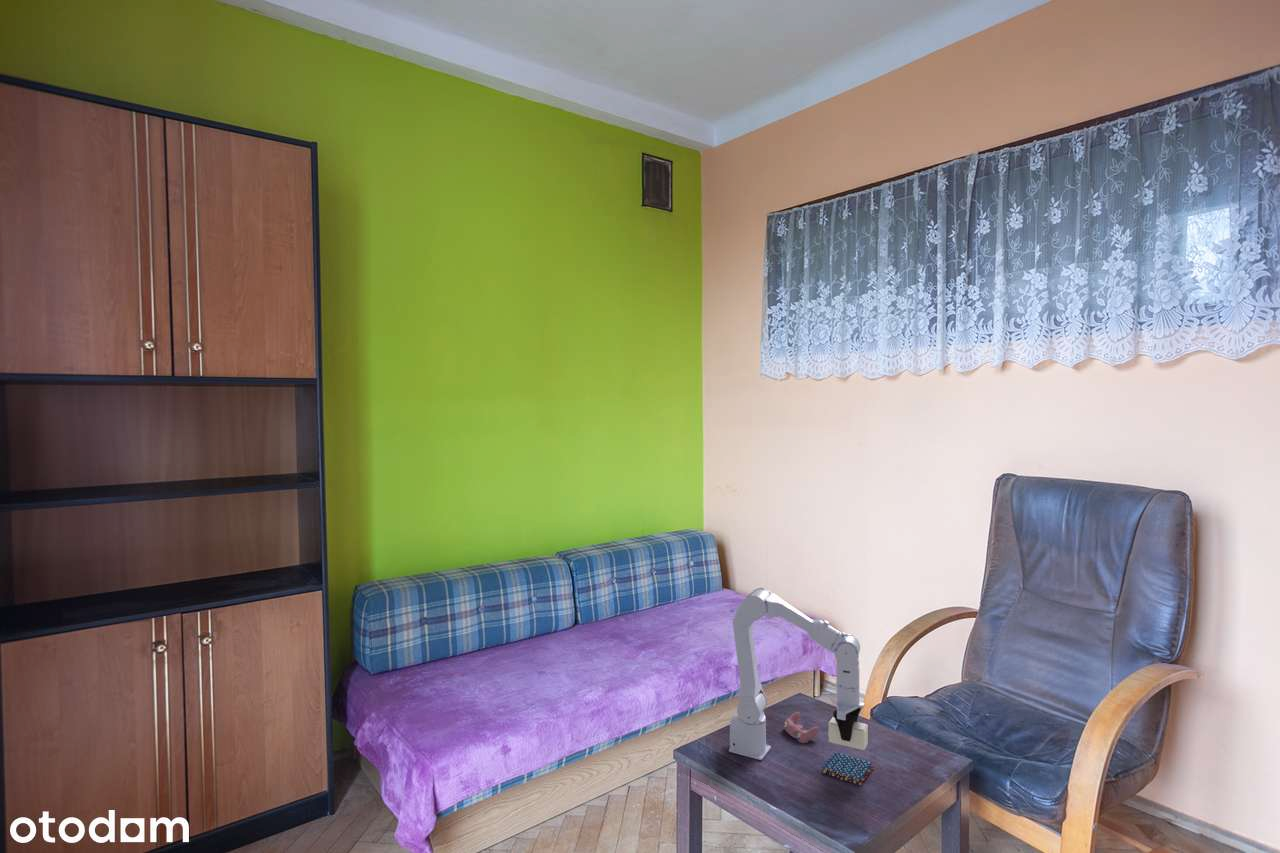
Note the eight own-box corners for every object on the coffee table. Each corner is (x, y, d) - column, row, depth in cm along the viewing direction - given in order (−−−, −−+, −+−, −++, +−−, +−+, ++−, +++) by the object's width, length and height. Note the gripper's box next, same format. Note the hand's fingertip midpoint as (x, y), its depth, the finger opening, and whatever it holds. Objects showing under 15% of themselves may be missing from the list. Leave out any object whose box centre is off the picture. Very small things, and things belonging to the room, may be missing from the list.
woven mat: (861, 788, 165) (861, 780, 165) (820, 774, 172) (820, 766, 171) (875, 770, 173) (875, 762, 173) (835, 757, 180) (835, 750, 180)
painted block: (864, 750, 168) (864, 730, 168) (828, 741, 173) (828, 722, 173) (867, 743, 172) (867, 724, 172) (832, 735, 176) (832, 716, 176)
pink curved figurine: (798, 724, 197) (778, 729, 194) (798, 710, 197) (779, 714, 194) (820, 742, 188) (800, 748, 186) (821, 727, 188) (801, 732, 185)
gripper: (857, 698, 164) (857, 752, 164) (869, 677, 176) (869, 728, 176) (828, 692, 167) (828, 745, 168) (842, 672, 180) (842, 722, 180)
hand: (848, 736), depth 172 cm, fingers closed on painted block, 4 cm apart
